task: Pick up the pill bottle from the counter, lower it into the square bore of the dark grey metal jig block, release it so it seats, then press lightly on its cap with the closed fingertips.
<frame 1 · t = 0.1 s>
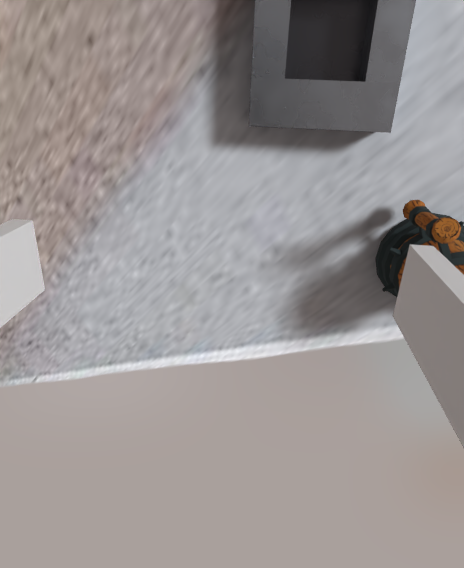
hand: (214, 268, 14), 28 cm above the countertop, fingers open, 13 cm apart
mug: (418, 245, 42), on the countertop
jig: (325, 39, 35), on the countertop
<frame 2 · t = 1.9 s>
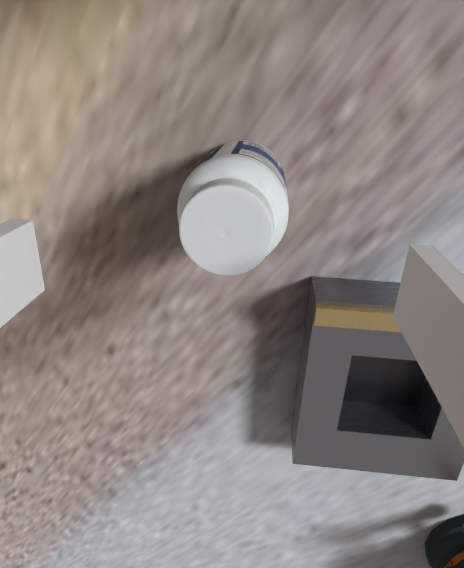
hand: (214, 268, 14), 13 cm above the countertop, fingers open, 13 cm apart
jig: (380, 367, 30), on the countertop
pill bottle: (242, 183, 26), on the countertop
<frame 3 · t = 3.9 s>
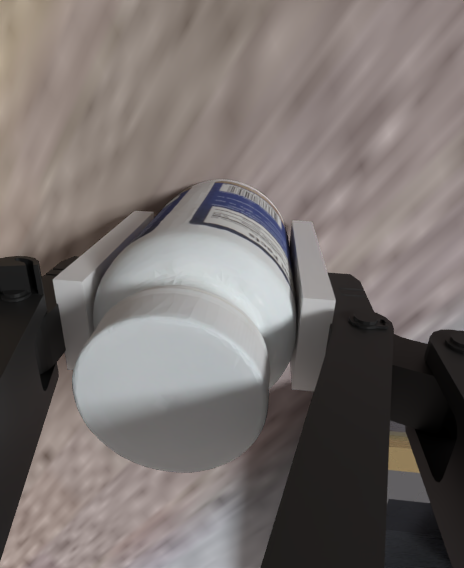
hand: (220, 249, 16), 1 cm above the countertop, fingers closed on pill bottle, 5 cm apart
jig: (422, 487, 22), on the countertop
pill bottle: (224, 241, 17), on the countertop, touching gripper
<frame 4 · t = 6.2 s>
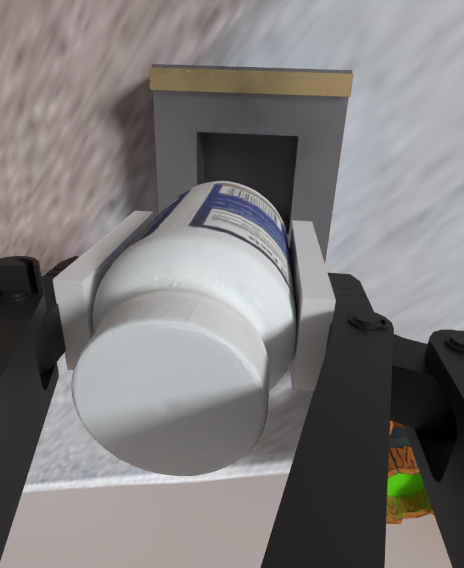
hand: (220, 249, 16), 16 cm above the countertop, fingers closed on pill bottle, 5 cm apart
mug: (368, 379, 38), on the countertop
jig: (247, 175, 30), on the countertop
pill bottle: (224, 242, 17), point 15 cm above the countertop, touching gripper
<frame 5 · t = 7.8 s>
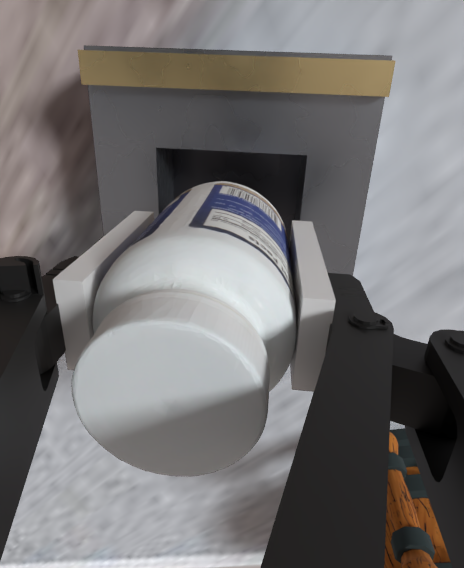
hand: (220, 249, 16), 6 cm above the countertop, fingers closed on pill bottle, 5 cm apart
mug: (392, 462, 29), on the countertop
jig: (234, 205, 22), on the countertop
pill bottle: (224, 243, 17), point 6 cm above the countertop, touching gripper
when the fingers open (5 cm above the countertop, at t = 8.9 s): pill bottle drops 3 cm, resting on jig.
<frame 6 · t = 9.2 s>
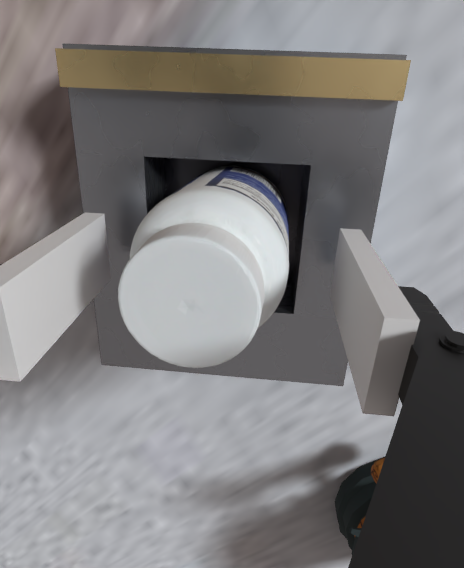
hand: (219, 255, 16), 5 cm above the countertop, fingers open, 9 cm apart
mug: (399, 488, 27), on the countertop
jig: (231, 217, 20), on the countertop
pill bottle: (234, 220, 20), resting on jig
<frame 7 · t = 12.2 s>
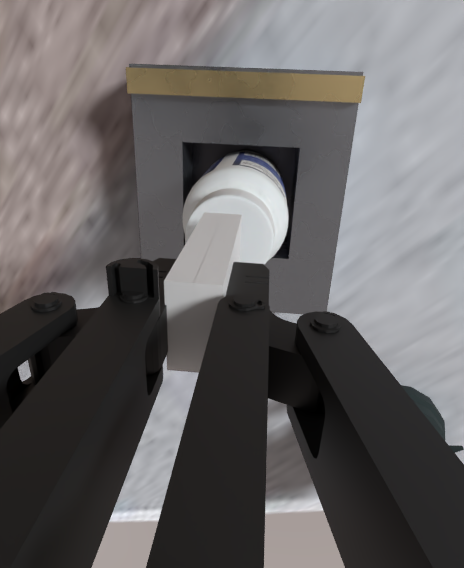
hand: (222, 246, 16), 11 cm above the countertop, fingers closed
mug: (375, 414, 34), on the countertop
jig: (242, 190, 27), on the countertop
pill bottle: (244, 191, 27), resting on jig
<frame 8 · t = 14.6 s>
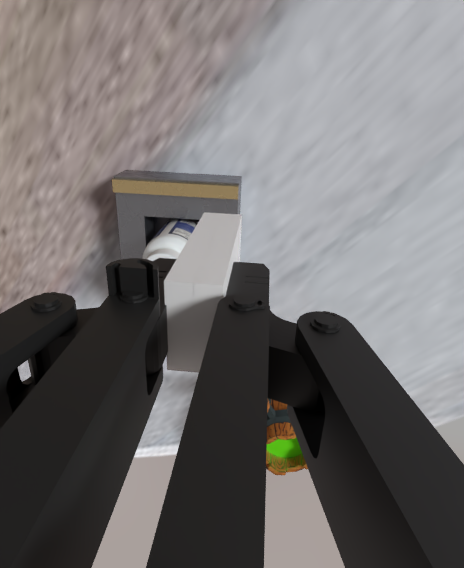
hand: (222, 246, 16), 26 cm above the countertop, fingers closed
mug: (279, 378, 52), on the countertop
jig: (184, 238, 45), on the countertop
pill bottle: (185, 238, 44), resting on jig
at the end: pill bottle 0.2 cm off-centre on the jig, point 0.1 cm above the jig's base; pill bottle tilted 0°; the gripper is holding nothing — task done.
